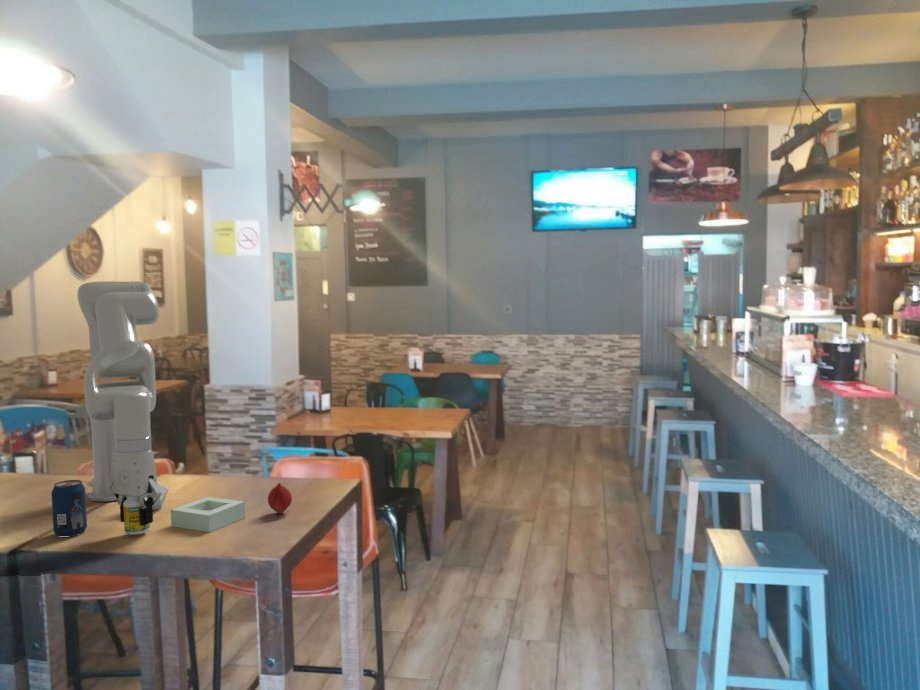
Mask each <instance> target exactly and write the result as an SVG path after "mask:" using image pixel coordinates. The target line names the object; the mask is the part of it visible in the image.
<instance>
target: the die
mask: <svg viewBox="0 0 920 690" xmlns="http://www.w3.org/2000/svg"><path fill="white" fill-rule="evenodd" d="M157 487H158V488H159V490H160V491H161V496H160V497H159V498H158V499H157V500H156V502H155V504H154V506H152V508H153V511H156V510H159V508H160V509H162V507H163V506H164V501H165V500H166V497H167V493H168V490H169V489H168V487H167V486H165V485H164V484H162V483H160V482H159V481H158V480H157ZM145 498H147V496H145ZM147 499H148V498H147Z"/></svg>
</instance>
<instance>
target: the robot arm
mask: <svg viewBox="0 0 920 690" xmlns="http://www.w3.org/2000/svg"><path fill="white" fill-rule="evenodd" d="M77 289H78V290H77V299H78V305H79V309H80V311H81V312H82V315H83V317H84V319H85V321H86V324H87V326H88V333H89V334H88V336H89V337H88V339H89V354H90V355H89V357H90V359H89V360H90V362H89V364H88V366H87V368H86V370H85V373H84V376H83V377H84V378H83V393H84V401H85V410H86V413H87V415H88V416H89V421H90V430H91V431H90V432H91V446H92V465H93V466H92V469H93V477H92V479H91V481H90V480H89V481H88V482H87V483H86V485H87V486H88V487H91V488H92V491H91V492H89V493H88V499H89V500H91V501H93V502H113V501H117V504H118V505H119V512H120V513H119V514H120V516H119V517H120V522H121V523H124V511H123V503H124V501H125V500H127V498H126V496H132V497H139V500H140V504H141V507H142V508H140V509H139V514H140V525H141V526H144V525H147V524H149V523H150V524H151V523H154V515H153V514H154V512H153V511H154V510H153V508H152V506H154V504H155V502H156V500H157V499H158V498H159V497H160V496H161V491H160V490H159V488H158V487H157V481H158V478H157V477H158V475H157V468H156V461H155V460H156V459H155V455H154V452H153V450H152V430H151V429H152V428H151V412H153V411H154V409H156V404H157V403H156V402H157V390H156V388H157V387H156V362H155V361H156V360H155V353H154V350H153V348H152V346H151V345H150V344H149V343H147V342H144V341H138V335H137V328H136V326H141V325H142V326H144V325H154V324H155V323H156V322H157V321H158V319H159V316H160V308H159V307H160V306H159V302H158V299H157V296H156V295H155V293H154V290H152V288H151V287H150V285H149V284H148V283H147V282H146V281H145V282H144V281H113V280H112V281H110V280H109V281H90V282H85V283H83V284H81V285H80V286H79V287H78V288H77ZM124 377H136V378H137V380H123V381H122V380H120V381H119V380H117V381H105V382H99V383H98V381H97V380H98V378H104V379H106V378H110V379H111V378H124ZM145 496H147V498H148V499H147V500H146V501H145Z"/></svg>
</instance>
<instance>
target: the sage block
mask: <svg viewBox="0 0 920 690" xmlns="http://www.w3.org/2000/svg"><path fill="white" fill-rule="evenodd" d="M245 506H246V505H245V501H242V500H235V499H227V498H218V497H211V496H206V497H203V498H200V499H197V500H195V501H194V500H193V501H191V502H188V503H185V504H182V505H180V506H177V507H174V508H171V509H170V522H171V523H170V524H171V527H174V528H179V529H185V530H186V529H187V530H193V531H200V532H205V533H211V532H215V531H216V530H219V529H221V528H223V527H226V526H229V525H231V524H233V523H235V522H238V521H240V520H241V521H242V520H243V519H245V518H246V508H245Z"/></svg>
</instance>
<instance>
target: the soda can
mask: <svg viewBox="0 0 920 690" xmlns="http://www.w3.org/2000/svg"><path fill="white" fill-rule="evenodd" d="M86 498H87V497H86V488H85V485H84V484H83V481H82V480H80V479H67V480H62V481H58V482H55V483H54V484H53V488H52V491H51V508H52V509H51V510H52V512H51V514H52V526H53V528H52V529H53V530H52V531H53V533H54V534H55V535H56V536H57V535H58V536H73V537H75V536H74V535H78V534H80V535H82V534H84V533H83V532H85V531H86V529H87V527H88V517H87V499H86ZM81 533H82V534H81ZM58 536H57V537H58ZM78 536H79V535H78Z"/></svg>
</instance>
